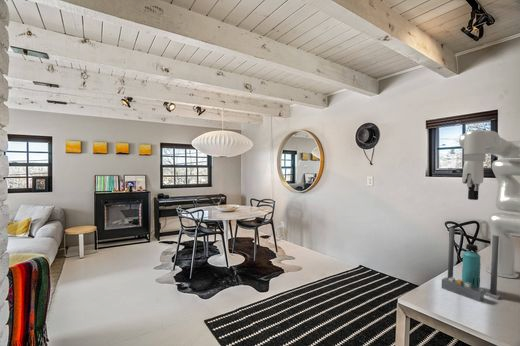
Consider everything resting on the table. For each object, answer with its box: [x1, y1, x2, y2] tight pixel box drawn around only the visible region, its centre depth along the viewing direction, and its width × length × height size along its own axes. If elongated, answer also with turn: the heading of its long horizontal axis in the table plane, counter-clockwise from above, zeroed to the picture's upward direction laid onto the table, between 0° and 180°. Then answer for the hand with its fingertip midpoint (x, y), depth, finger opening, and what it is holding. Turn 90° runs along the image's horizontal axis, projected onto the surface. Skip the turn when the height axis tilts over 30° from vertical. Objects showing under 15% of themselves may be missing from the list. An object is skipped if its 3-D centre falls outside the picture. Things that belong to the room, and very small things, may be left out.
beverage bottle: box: [461, 243, 482, 288], centre depth 117 cm, size 6×7×20 cm
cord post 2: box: [484, 235, 502, 300], centre depth 111 cm, size 4×4×26 cm
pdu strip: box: [441, 276, 485, 303], centre depth 113 cm, size 4×14×5 cm, turn 32°
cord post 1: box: [446, 227, 457, 281], centre depth 124 cm, size 4×4×26 cm
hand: (473, 199), depth 116 cm, fingers closed
